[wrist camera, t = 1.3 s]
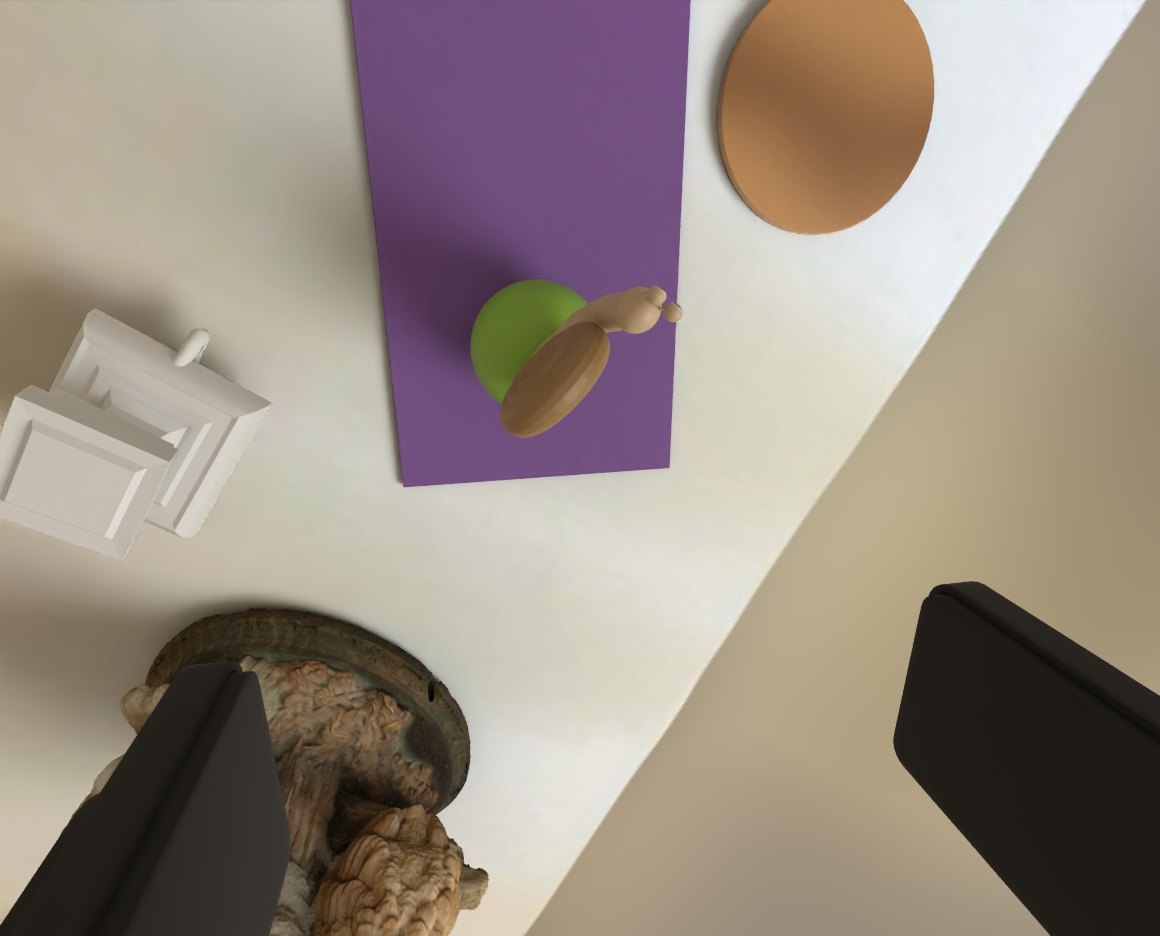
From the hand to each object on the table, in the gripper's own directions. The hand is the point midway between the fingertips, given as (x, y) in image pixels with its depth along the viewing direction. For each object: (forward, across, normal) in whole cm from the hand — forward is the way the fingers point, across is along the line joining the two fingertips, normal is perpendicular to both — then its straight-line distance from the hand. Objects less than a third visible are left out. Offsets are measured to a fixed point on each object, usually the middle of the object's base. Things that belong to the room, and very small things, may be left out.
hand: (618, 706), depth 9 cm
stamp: (+22, +14, +1) cm, 26 cm away
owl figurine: (+22, +10, +18) cm, 30 cm away
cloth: (+22, -2, -6) cm, 22 cm away
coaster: (+22, -14, -12) cm, 28 cm away
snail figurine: (+22, -2, -2) cm, 22 cm away
